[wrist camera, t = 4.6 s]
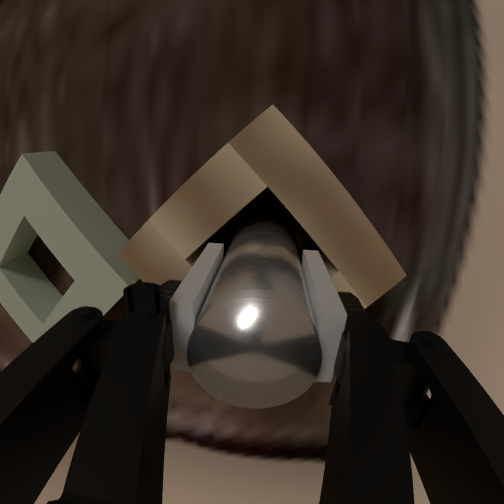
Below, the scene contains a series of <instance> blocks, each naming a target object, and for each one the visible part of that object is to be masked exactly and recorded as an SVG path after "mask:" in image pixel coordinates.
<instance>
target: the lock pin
mask: <svg viewBox="0 0 504 504" xmlns="http://www.w3.org/2000/svg"><path fill="white" fill-rule="evenodd" d="M187 362H188V366H189V369H190V371H191V373H192V375H193V377H194V378H195V380H196V381H197V382H198V384H199V385H200V386H201V387H202V388H203V389H204V390H205V391H207V392H208V393H209V394H211V395H212V396H213V397H215V398H217V399H219V400H221V401H223V402H225V403H228V404H231V405H234V406H238V407H243V408H253V409H261V408H270V407H275V406H279V405H283V404H285V403H288V402H290V401H292V400H294V399H296V398H297V397H299V396H300V395H302V394H303V393H304V392H305V391H307V390H308V389H309V388H310V386H311V385H312V384H313V383H314V381H315V380H316V378H317V376H318V374H319V372H320V369H321V364H322V350H321V345H320V340H319V336H318V332H317V328H316V323H315V319H314V315H313V311H312V307H311V303H310V299H309V295H308V291H307V287H306V283H305V279H304V275H303V271H302V267H301V263H300V260H299V256H298V252H297V248H296V245H295V241H294V237H293V234H292V232H291V231H290V229H289V228H288V226H287V225H286V224H285V223H283V222H282V221H281V220H279V219H277V218H274V217H271V216H256V217H253V218H250V219H248V220H247V221H245V222H244V223H243V224H242V225H241V226H240V227H239V228H238V229H237V231H236V233H235V235H234V237H233V240H232V242H231V244H230V246H229V249H228V251H227V253H226V255H225V257H224V260H223V262H222V264H221V266H220V269H219V271H218V273H217V275H216V278H215V280H214V282H213V285H212V287H211V289H210V291H209V294H208V296H207V298H206V300H205V303H204V305H203V307H202V310H201V312H200V314H199V317H198V319H197V321H196V324H195V326H194V328H193V330H192V333H191V335H190V338H189V341H188V344H187Z"/></svg>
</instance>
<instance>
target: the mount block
mask: <svg viewBox="0 0 504 504" xmlns="http://www.w3.org/2000/svg"><path fill="white" fill-rule="evenodd" d="M266 187H268V188H269V189H270V190H271V191H272V192H273V193H274V194H275V196H276V197H277V198H278V199H279V200H280V201H281V202H282V204H283V205H284V206H285V207H286V208H287V209H288V211H289V212H290V213H291V214H292V215H293V216H294V218H295V219H296V220H297V221H298V222H299V223H300V225H301V226H302V227H303V228H304V229H305V231H306V232H307V233H308V234H309V235H310V237H311V238H312V239H313V240H314V241H315V243H316V244H317V245H318V246H319V247H320V249H321V250H322V251H323V252H324V253H322V254H321V255H320V256H321V258H322V260H323V262H324V264H325V266H326V269H327V271H328V273H329V275H330V277H331V280H332V282H333V284H334V286H335V288H336V291H337V292H351V293H352V294H353V295H355V296H356V297H357V298H358V299H359V301H360V302H361V305H362V306H363V308H364V309H365V308H367V307H368V306H369V305H371V304H372V303H373V302H374V301H376V300H377V299H378V298H380V297H381V296H382V295H383V294H385V293H386V292H387V291H388V290H390V289H391V288H392V287H393V286H395V285H396V284H397V283H398V282H399V281H401V280H402V279H403V278H404V277H405V276H406V274H405V272H404V271H403V269H402V268H401V266H400V265H399V263H398V262H397V260H396V259H395V257H394V256H393V254H392V253H391V251H390V250H389V248H388V247H387V245H386V244H385V242H384V241H383V240H382V238H381V237H380V235H379V234H378V232H377V231H376V230H375V228H374V227H373V225H372V224H371V223H370V221H369V220H368V219H367V217H366V216H365V214H364V213H363V212H362V210H361V209H360V208H359V206H358V205H357V204H356V202H355V201H354V200H353V198H352V197H351V196H350V195H349V193H348V192H347V191H346V189H345V188H344V187H343V186H342V184H341V183H340V182H339V180H338V179H337V178H336V177H335V175H334V174H333V173H332V172H331V170H330V169H329V168H328V167H327V166H326V164H325V163H324V162H323V161H322V159H321V158H320V157H319V156H318V155H317V154H316V152H315V151H314V150H313V149H312V148H311V146H310V145H309V144H308V143H307V142H306V141H305V139H304V138H303V137H302V136H301V135H300V134H299V133H298V132H297V130H296V129H295V128H294V127H293V126H292V125H291V124H290V123H289V121H288V120H287V119H286V118H285V117H284V116H283V115H282V114H281V113H280V112H279V111H278V109H277V108H276V107H275V106H274V105H272V106H271V107H269V108H268V109H267V110H266V111H264V112H263V113H262V114H261V115H260V116H258V117H257V118H256V119H255V120H254V121H253V122H251V123H250V124H249V125H248V126H247V127H246V128H244V129H243V130H242V131H241V132H240V133H239V134H237V135H236V136H235V137H234V138H233V139H232V140H231V141H230V142H228V143H227V144H226V145H225V146H224V147H223V148H222V149H221V150H220V151H218V152H217V153H216V154H215V155H214V156H213V157H212V158H211V159H210V160H209V161H208V162H206V163H205V164H204V165H203V166H202V167H201V168H200V169H199V170H198V171H197V172H196V173H195V174H194V175H193V176H192V177H191V178H190V179H189V180H188V181H186V182H185V183H184V184H183V185H182V186H181V187H180V188H179V189H178V190H177V191H176V192H175V193H174V194H173V195H172V196H171V197H170V198H169V199H168V200H167V201H166V202H165V203H164V204H163V205H162V206H161V207H160V208H159V209H158V210H157V211H156V213H155V214H154V215H153V216H152V217H151V218H150V219H149V220H148V221H147V222H146V223H145V224H144V225H143V226H142V227H141V228H140V229H139V230H138V231H137V233H136V234H135V235H134V236H133V237H132V238H131V239H130V240H129V241H128V242H127V243H126V245H125V246H124V247H123V248H122V249H121V250H120V251H119V252H118V253H117V254H118V255H119V256H120V257H121V259H122V260H123V261H124V262H125V263H126V264H127V265H128V266H129V267H130V268H131V270H132V271H133V272H134V273H135V274H136V275H137V276H138V277H139V278H140V279H141V280H142V281H143V282H150V283H155V284H158V285H160V286H161V284H163V283H165V282H166V281H168V280H180V281H183V280H184V278H185V277H186V275H187V274H188V272H189V271H190V269H191V268H192V267H193V265H194V264H195V262H196V261H197V259H198V258H199V256H200V255H201V253H202V252H203V250H204V249H205V248H206V246H205V245H204V244H203V243H204V242H205V241H206V240H207V239H208V238H209V237H210V236H212V235H213V234H214V233H215V232H216V231H217V230H218V229H219V228H221V227H222V226H223V225H224V224H225V223H226V222H227V221H228V220H230V219H231V218H232V217H233V216H234V215H235V214H236V213H238V212H239V211H240V210H241V209H242V208H243V207H244V206H246V205H247V204H248V203H249V202H250V201H251V200H253V199H254V198H255V197H256V196H257V195H258V194H259V193H261V192H262V191H263V190H264V189H265V188H266Z"/></svg>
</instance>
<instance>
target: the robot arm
mask: <svg viewBox="0 0 504 504" xmlns="http://www.w3.org/2000/svg"><path fill="white" fill-rule="evenodd" d="M223 255H224V244H220V243H208V245H207V246H206V248H205V249H204V250H203V252H202V253H201V255H200V256H199V258H198V259H197V261H196V262H195V264H194V265H193V267H192V268H191V269H190V271H189V272H188V274H187V275H186V277H185V278H184V280H183V281H180V280H168V281H166V282H165V283H163V284H161V286H160V285H158V284H155V283H150V282H140V283H135V284H131V285H129V286H127V287H125V288H124V289H123V295H124V303H125V311H126V314H125V316H124V318H123V319H120V320H104V319H103V313H102V311H101V310H100V309H98V308H95V307H89V306H85V307H84V306H82V307H79V308H76V309H74V310H72V311H70V312H69V313H68V314H66V315H65V316H64V317H63V318H62V319H60V320H59V321H58V322H57V323H56V324H54V325H53V326H52V327H51V328H50V329H49V330H47V331H46V332H45V333H44V334H43V335H42V336H40V337H39V338H38V339H37V340H36V341H35V342H34V343H32V344H31V345H30V346H29V347H28V348H27V349H26V350H25V351H23V352H22V353H21V354H20V355H19V356H18V357H17V358H16V359H15V360H13V361H12V362H11V363H10V364H9V365H8V366H7V367H6V368H5V369H4V370H3V371H2V372H0V504H34V503H35V501H36V499H37V498H38V496H39V495H40V493H41V491H42V490H43V488H44V486H45V485H46V483H47V482H48V480H49V479H50V477H51V475H52V474H53V472H54V471H55V469H56V467H57V466H58V464H59V463H60V461H61V460H62V458H63V457H64V455H65V453H66V452H67V450H68V449H69V447H70V446H71V444H72V443H73V441H74V440H75V438H76V437H77V435H78V433H79V432H80V434H79V437H78V440H77V444H76V447H75V450H74V454H73V457H72V461H71V464H70V467H69V471H68V475H67V478H66V482H65V486H64V490H63V493H62V495H61V497H60V498H59V499H58V500H54V501H49V502H48V503H47V504H162V491H163V490H162V489H163V469H164V451H165V437H166V424H167V412H168V401H169V390H170V381H171V373H170V364H171V362H172V360H173V358H174V368H175V370H180V371H187V372H191V371H190V369H189V366H188V362H187V344H188V341H189V338H190V335H191V333H192V330H193V328H194V326H195V324H196V321H197V319H198V317H199V314H200V312H201V310H202V307H203V305H204V303H205V300H206V298H207V296H208V294H209V291H210V289H211V287H212V285H213V282H214V280H215V278H216V275H217V273H218V271H219V269H220V266H221V264H222V262H223ZM301 267H302V271H303V275H304V279H305V283H306V287H307V291H308V295H309V299H310V303H311V307H312V311H313V315H314V319H315V323H316V328H317V332H318V336H319V340H320V345H321V350H322V364H321V369H320V372H319V374H318V376H317V378H316V380H315V381H314V382H331V380H332V376H333V372H334V371H335V375H336V381H335V385H334V388H333V392H332V395H331V398H330V402H329V405H332V409H331V419H330V429H329V438H328V447H327V455H326V462H325V470H324V476H323V483H322V490H321V496H320V502H319V504H414V494H413V480H412V469H411V460H410V453H411V456H412V458H413V460H414V463H415V465H416V468H417V470H418V473H419V475H420V478H421V480H422V483H423V486H424V488H425V491H426V493H427V496H428V499H429V501H430V504H504V415H503V414H502V412H501V411H500V410H499V408H498V407H497V406H496V404H495V403H494V402H493V400H492V399H491V398H490V396H489V395H488V394H487V392H486V391H485V390H484V388H483V387H482V386H481V385H480V383H479V382H478V381H477V380H476V378H475V377H474V376H473V374H472V373H471V372H470V371H469V369H468V368H467V367H466V366H465V364H464V363H463V362H462V361H461V360H460V358H459V357H458V356H457V355H456V354H455V352H454V351H453V350H452V349H451V348H450V346H449V345H448V344H447V343H446V342H445V340H443V339H442V338H441V337H440V336H438V335H436V334H435V333H432V332H431V333H430V332H428V331H426V332H425V331H419V332H415V333H413V334H412V336H411V339H410V342H409V343H407V342H402V341H397V340H392V339H389V335H388V332H387V330H386V329H385V328H384V327H382V326H381V325H379V324H377V323H374V322H371V321H370V319H369V317H368V315H367V313H366V311H365V310H364V308H363V306H362V305H361V302H360V301H359V299H358V298H357V297H356V296H355V295H353V294H352V293H351V292H337V291H336V288H335V286H334V284H333V282H332V280H331V277H330V275H329V273H328V271H327V269H326V266H325V264H324V262H323V260H322V258H321V256H320V254H319V252H318V251H314V250H303V256H302V264H301ZM76 361H77V364H78V368H77V369H76V370H75V371H73V369H72V368H73V365H74V364H75V362H76ZM428 389H430V391H431V396H432V397H431V398H430V399H429V397H428V396H427V394H426V393H427V391H428Z"/></svg>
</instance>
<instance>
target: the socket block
mask: <svg viewBox="0 0 504 504" xmlns="http://www.w3.org/2000/svg"><path fill="white" fill-rule="evenodd" d="M37 235H39V236H40V238H41V239H42V240H43V242H44V243H45V244H46V246H47V247H48V248H49V249H50V251H51V252H52V253H53V255H54V256H55V257H56V258H57V260H58V261H59V262H60V263H61V264H62V266H63V267H64V268H65V269H66V270H67V272H68V273H69V274H70V275H71V276H72V278H73V279H74V280H75V281H74V282H73V284H72V285H71V286H70V288H69V289H68V290H67V292H66V293H65V294H64V296H62V295H61V294H60V292H59V291H58V290H57V289H56V288H55V287H54V285H53V284H52V283H51V282H50V280H49V279H48V278H47V277H46V276H45V274H44V273H43V272H42V271H41V269H40V268H39V267H38V265H37V264H36V263H35V262H34V260H33V259H32V258H31V256H30V255H29V254H28V251H29V249H30V247H31V246H32V244H33V242H34V240H35V239H36V237H37ZM128 241H129V240H128V238H127V237H126V236H125V235H124V234H123V233H122V232H121V231H120V229H119V228H118V227H117V226H116V225H115V224H114V223H113V221H112V220H111V219H110V218H109V217H108V216H107V214H106V213H105V212H104V211H103V210H102V209H101V207H100V206H99V205H98V204H97V203H96V201H95V200H94V199H93V198H92V197H91V195H90V194H89V193H88V192H87V191H86V189H85V188H84V187H83V186H82V184H81V183H80V182H79V181H78V179H77V178H76V177H75V176H74V174H73V173H72V172H71V171H70V169H69V168H68V167H67V166H66V164H65V163H64V162H63V160H62V159H61V158H60V156H59V155H58V154H57V153H56V151H53V152H38V153H26V154H22V155H21V157H20V158H19V160H18V162H17V164H16V165H15V167H14V169H13V171H12V173H11V175H10V177H9V179H8V180H7V182H6V184H5V186H4V188H3V190H2V192H1V195H0V303H1V304H2V305H3V307H4V308H5V309H6V311H7V312H8V313H9V315H10V316H11V317H12V318H13V320H14V321H15V322H16V323H17V325H18V326H19V327H20V328H21V330H22V331H23V332H24V333H25V334H26V335H27V337H28V338H29V339H30V340H31V341H32V342H33V343H34V342H35V341H36V340H37V339H38V338H39V337H40V336H42V335H43V334H44V333H45V332H46V331H47V330H49V329H50V328H51V327H52V326H53V325H54V324H56V323H57V322H58V321H59V320H60V319H62V318H63V317H64V316H65V315H66V314H68V313H69V312H70V311H72V310H74V309H76V308H79V307H82V306H84V307H85V306H89V307H95V308H98V309H100V310H101V311H102V313H103V316H104V315H105V314H106V313H107V312H108V310H109V309H110V308H111V307H112V306H113V305H114V304H115V303H116V302H117V301H118V300H119V299H120V298H121V297H122V296H123V289H124V288H125V287H127V286H129V285H131V284H135V283H136V282H137V281H138V280H139V279H140V278H139V277H138V276H137V275H136V274H135V273H134V272H133V271H132V270H131V268H130V267H129V266H128V265H127V264H126V263H125V262H124V261H123V260H122V259H121V257H120V256H119V255H118V254H117V253H118V252H119V251H120V250H121V249H122V248H123V247H124V246H125V245H126V243H127V242H128Z"/></svg>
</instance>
